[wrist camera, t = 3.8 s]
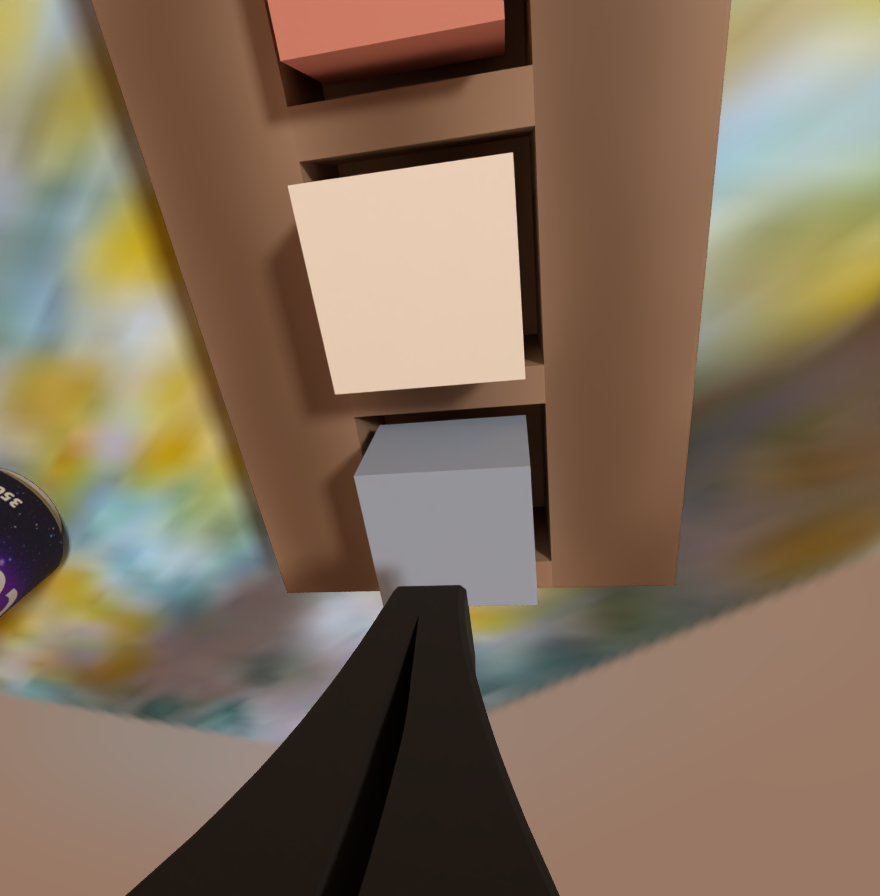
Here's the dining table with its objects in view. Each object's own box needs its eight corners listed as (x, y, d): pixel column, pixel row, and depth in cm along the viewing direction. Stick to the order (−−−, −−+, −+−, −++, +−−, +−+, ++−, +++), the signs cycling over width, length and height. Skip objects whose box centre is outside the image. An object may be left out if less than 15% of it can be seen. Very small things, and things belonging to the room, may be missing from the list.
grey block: (526, 414, 14) (530, 466, 11) (532, 537, 16) (538, 604, 13) (379, 425, 14) (354, 475, 12) (402, 542, 16) (383, 607, 14)
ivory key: (510, 158, 11) (513, 152, 9) (521, 341, 13) (525, 379, 10) (332, 184, 12) (287, 185, 9) (366, 355, 14) (335, 394, 11)
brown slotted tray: (696, -316, 10) (783, -540, 7) (646, 516, 18) (675, 584, 15) (130, -163, 12) (-3, -284, 9) (320, 529, 20) (287, 592, 17)
